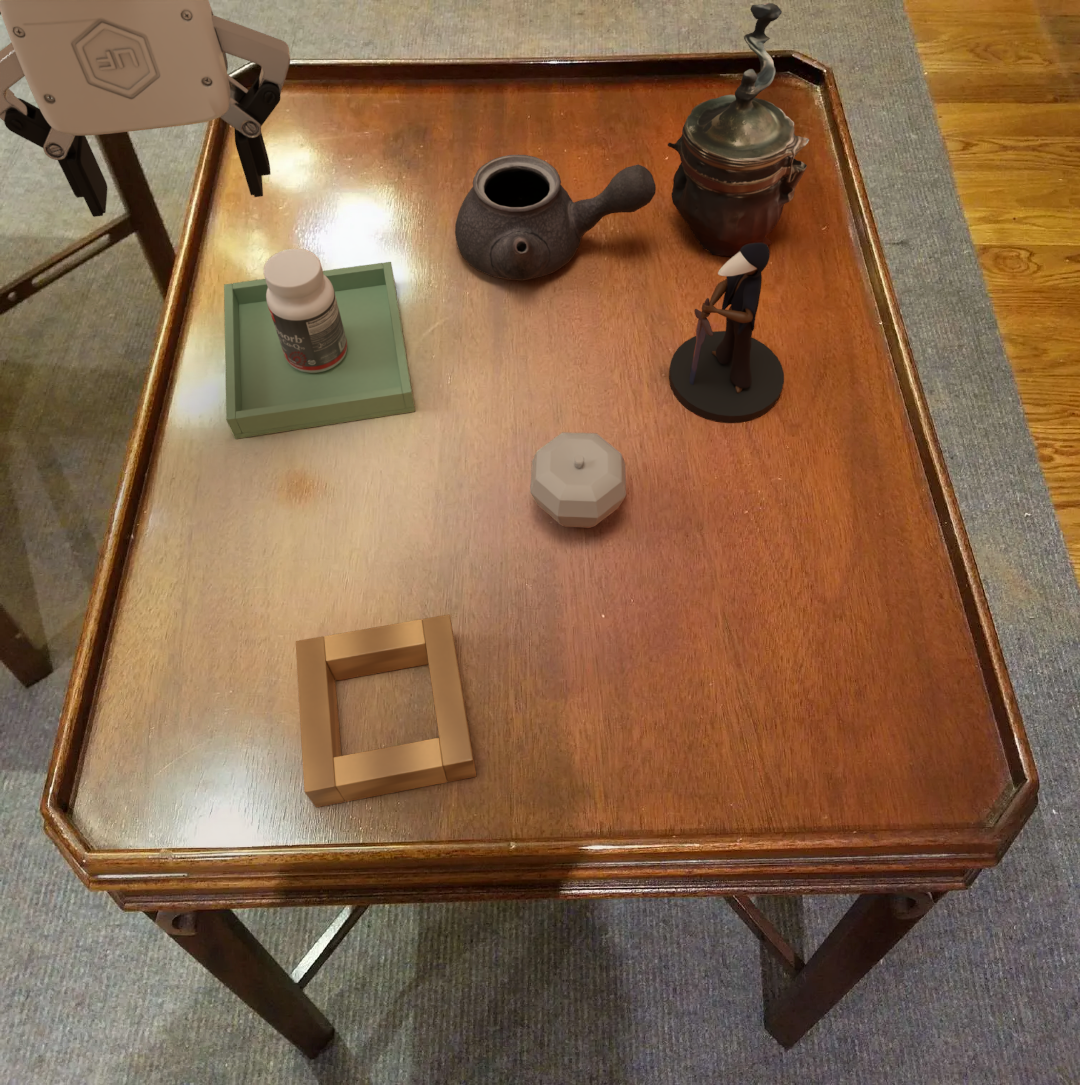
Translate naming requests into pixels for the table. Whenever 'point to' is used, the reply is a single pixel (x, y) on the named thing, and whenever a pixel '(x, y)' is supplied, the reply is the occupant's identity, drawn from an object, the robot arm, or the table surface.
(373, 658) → the holder
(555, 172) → the teapot
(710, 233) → the coffee grinder
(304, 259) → the pill bottle
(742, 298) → the figurine
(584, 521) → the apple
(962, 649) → the table surface
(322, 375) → the tray
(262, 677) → the table surface
